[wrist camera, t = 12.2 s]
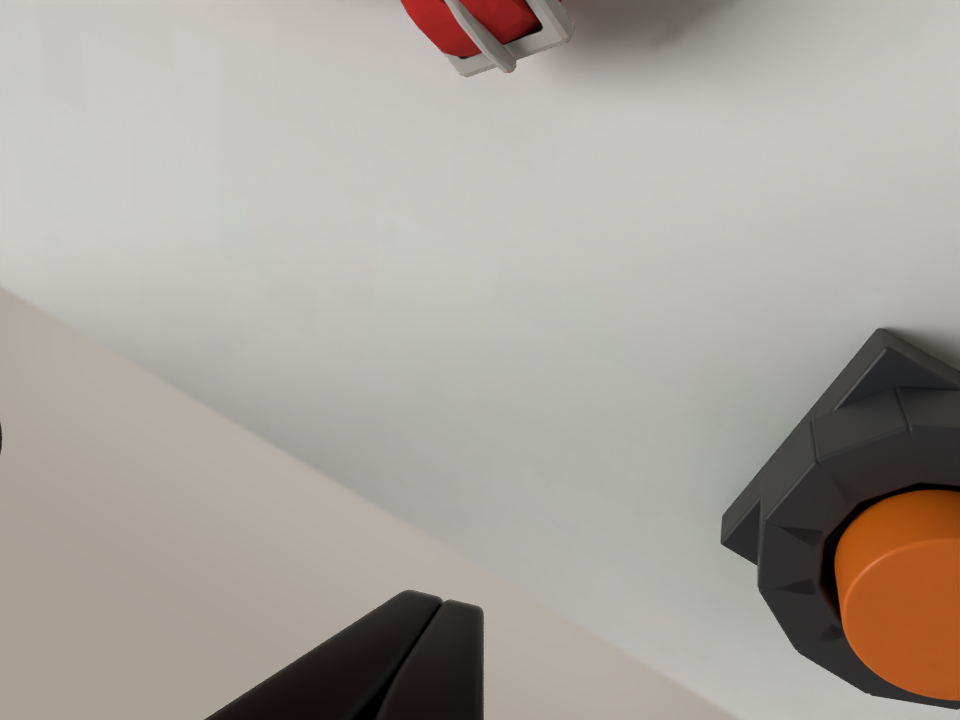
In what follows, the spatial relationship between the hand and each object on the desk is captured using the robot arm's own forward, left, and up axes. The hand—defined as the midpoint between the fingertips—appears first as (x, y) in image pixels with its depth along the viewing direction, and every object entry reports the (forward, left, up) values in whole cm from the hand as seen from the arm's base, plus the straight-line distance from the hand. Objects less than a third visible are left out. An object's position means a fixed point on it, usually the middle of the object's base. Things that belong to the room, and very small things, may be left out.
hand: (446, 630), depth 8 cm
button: (-4, -7, -9) cm, 12 cm away
